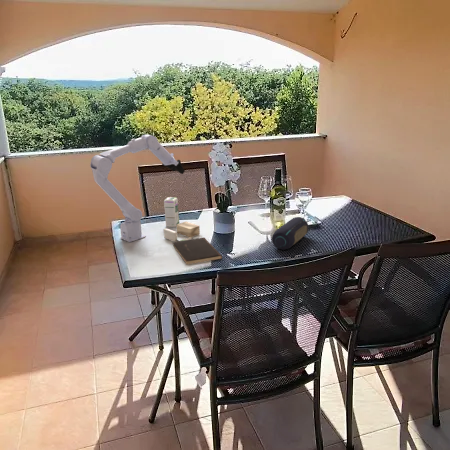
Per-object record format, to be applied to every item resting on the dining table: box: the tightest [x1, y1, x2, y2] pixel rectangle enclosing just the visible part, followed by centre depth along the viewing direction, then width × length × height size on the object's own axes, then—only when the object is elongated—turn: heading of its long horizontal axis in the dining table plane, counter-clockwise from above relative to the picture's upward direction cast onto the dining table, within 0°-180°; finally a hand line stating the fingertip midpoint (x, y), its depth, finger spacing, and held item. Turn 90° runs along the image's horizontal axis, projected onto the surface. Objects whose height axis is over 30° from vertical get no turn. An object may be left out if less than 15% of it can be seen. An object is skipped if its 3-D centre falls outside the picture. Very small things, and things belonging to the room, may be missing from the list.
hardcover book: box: [172, 237, 223, 265], centre depth 191 cm, size 16×23×2 cm
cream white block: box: [163, 227, 180, 242], centre depth 204 cm, size 4×10×4 cm, turn 46°
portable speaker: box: [271, 216, 309, 250], centre depth 198 cm, size 25×10×10 cm, turn 149°
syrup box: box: [163, 196, 180, 228], centre depth 223 cm, size 6×6×14 cm
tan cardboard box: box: [176, 221, 201, 241], centre depth 209 cm, size 16×12×4 cm
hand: (179, 171), depth 215 cm, fingers open, 7 cm apart
